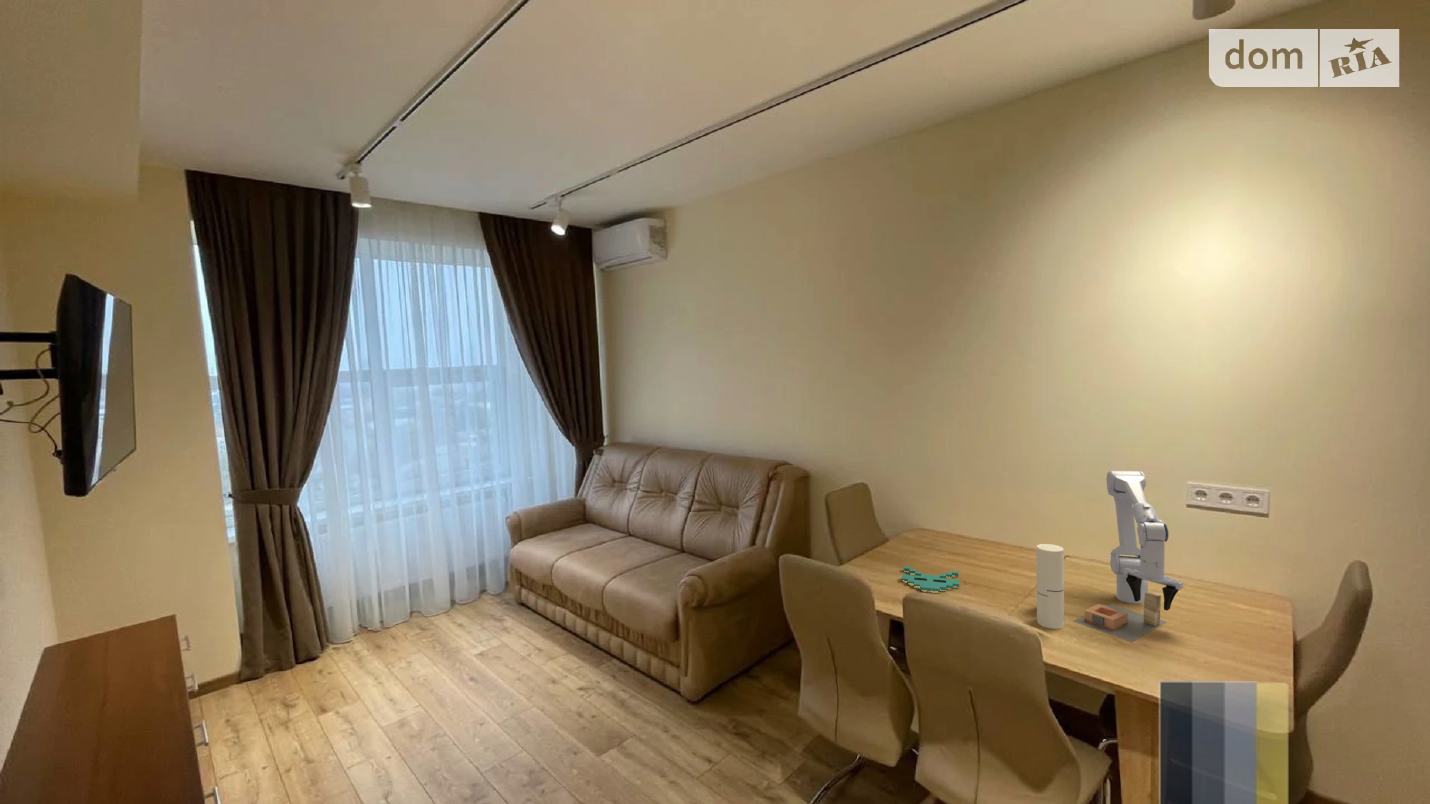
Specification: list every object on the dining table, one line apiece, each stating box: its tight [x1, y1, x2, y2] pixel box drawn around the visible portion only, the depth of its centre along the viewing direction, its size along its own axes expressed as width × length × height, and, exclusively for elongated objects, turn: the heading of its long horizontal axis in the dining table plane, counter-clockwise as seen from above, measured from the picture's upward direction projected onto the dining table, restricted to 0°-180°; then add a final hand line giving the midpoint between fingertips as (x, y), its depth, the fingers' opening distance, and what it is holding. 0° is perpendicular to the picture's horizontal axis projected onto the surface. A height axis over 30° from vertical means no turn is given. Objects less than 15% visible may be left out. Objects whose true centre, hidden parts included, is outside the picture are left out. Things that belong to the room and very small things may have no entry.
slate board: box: [1073, 603, 1167, 643], centre depth 172 cm, size 22×16×1 cm
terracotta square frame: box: [1083, 603, 1128, 631], centre depth 172 cm, size 9×8×3 cm
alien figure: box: [901, 565, 960, 592], centre depth 211 cm, size 20×2×20 cm
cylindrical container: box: [1036, 543, 1065, 630], centre depth 172 cm, size 7×7×25 cm
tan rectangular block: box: [1143, 591, 1162, 626], centre depth 170 cm, size 3×3×9 cm
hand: (1151, 604), depth 170 cm, fingers open, 7 cm apart
